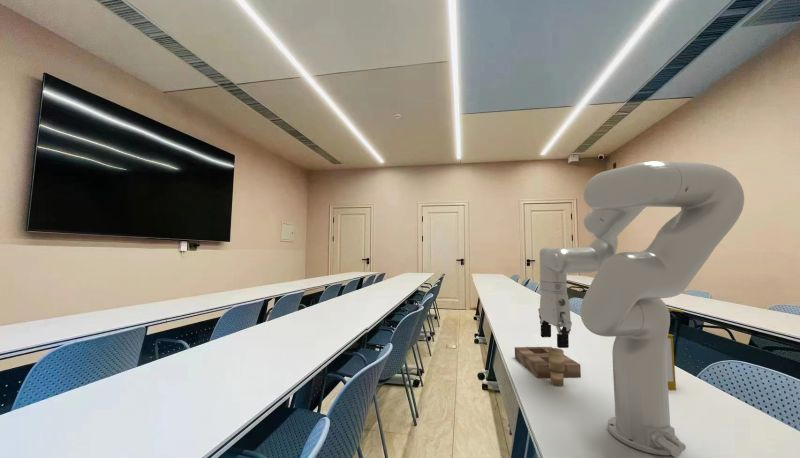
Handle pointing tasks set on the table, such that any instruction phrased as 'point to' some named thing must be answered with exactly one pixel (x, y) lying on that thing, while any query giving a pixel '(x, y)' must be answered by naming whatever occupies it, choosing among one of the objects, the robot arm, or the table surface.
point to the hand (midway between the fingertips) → (554, 342)
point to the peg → (556, 366)
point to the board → (544, 362)
